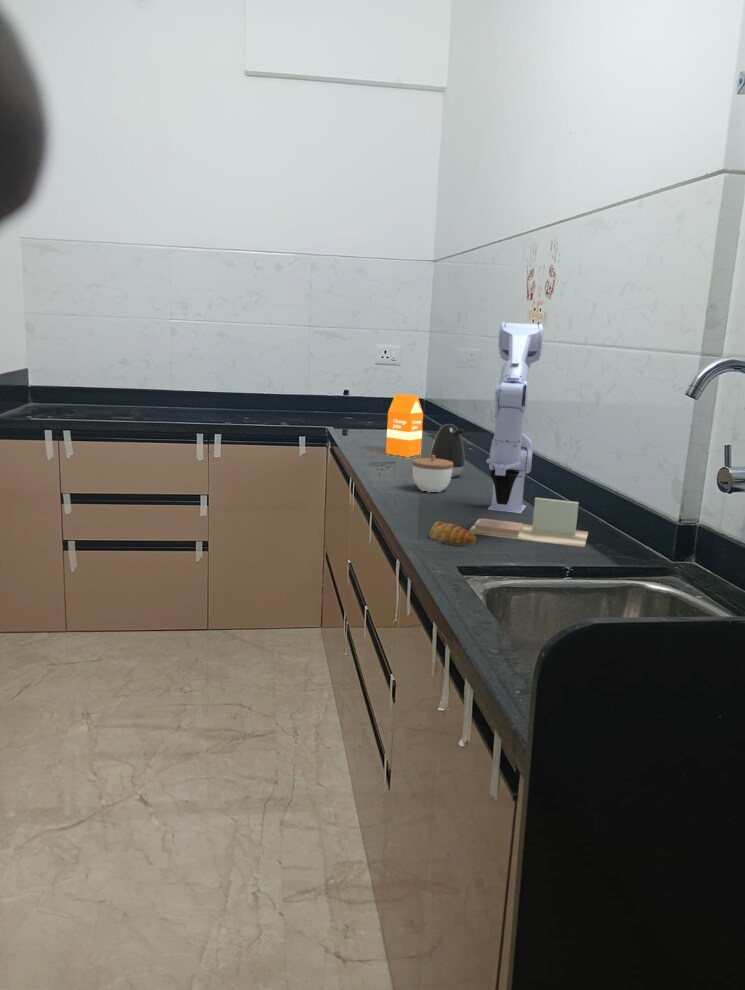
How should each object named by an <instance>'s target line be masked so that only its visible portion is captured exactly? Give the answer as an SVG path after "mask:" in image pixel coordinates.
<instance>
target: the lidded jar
mask: <svg viewBox="0 0 745 990" xmlns="http://www.w3.org/2000/svg"><path fill="white" fill-rule="evenodd" d="M411 462H412V463H411V464H412V469H411V470H412V479H413V482H414V483H415V485H416V487H418V489H420V490H421V491H420V490H419V491H420V492H423V491H427V492H426V493H430V492H438V493H442V492H443V491H444V490H445V489H446V488H448V485H449V484H450V482H451V479H452V478H451V476H452V469H453V462H451V461H449V460H444V459H436V458H435V455H431V458H430V457H421V458H418V457H417V458H414V459H412V461H411ZM441 491H442V492H441Z"/></svg>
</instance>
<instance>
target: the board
mask: <svg viewBox="0 0 745 990" xmlns="http://www.w3.org/2000/svg"><path fill="white" fill-rule="evenodd" d="M481 519H482V518H478V519H476V521H475V522H474V523H473V525H472V526H471V527H470V528H469V530H468V531H470V532H471V533H472V534H474V535H480V536H481V535H482V536H488V537H499V538H504V539H514V540H521V541H529V542H538V543H546V544H552V545H553V544H555V545H562V546H570V547H578V548H579V547H580V548H585V547H586V542H587V539H588V537H589V536H588V535H589V531H586V530H585V531H584V530H579V529H578V530H577V529H576V534H575V536H573V535H565V534H556V533H548V532H540V531H532V526H533V524H526V523H523V530H522V532H521V533H520V535H519V537H514V536H506V535H498V534H490V533H481V532H475V529H476V524H477V523H478V522H479V521H480V520H481Z"/></svg>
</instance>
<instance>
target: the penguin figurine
mask: <svg viewBox="0 0 745 990" xmlns="http://www.w3.org/2000/svg"><path fill="white" fill-rule="evenodd" d="M464 431H465V430H464V428H460V429H458V427H457V426H456V425H454V424H452V423H445V424H443V425H442V426H441V427H440V428H439V430H438V431H437V434H436V435H435V437H434V441H433V443H432V447H431V449H430V454H429V458H431V455H435V458H436V459H444V460H449V461H451V462H453V469H452V476H451V477H452V478H455V477H457V476H459V475H460V474H461V472H462V471H463V469H464V466H465V465H466V464H465V462H466V460H465V459H466V458H465V448H464V443H463V440H462V439H463V438H462V435H461V434H463V433H464Z"/></svg>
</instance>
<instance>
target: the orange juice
mask: <svg viewBox="0 0 745 990" xmlns="http://www.w3.org/2000/svg"><path fill="white" fill-rule="evenodd" d="M423 420H424V412H423V409H422V406H421V403H420V400H419V396H418V395H412V394H401V393H395V394H394V398H392V401H391V404H390V407H389V409H388V412H387V427H386V428H387V429H386V444H385V445H386V448H385V454H386V453H387V454H393V455H400V456H405V457H410V456H414V455H419V454H420V455H421V451H422V438H423V437H422V436H423Z"/></svg>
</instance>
